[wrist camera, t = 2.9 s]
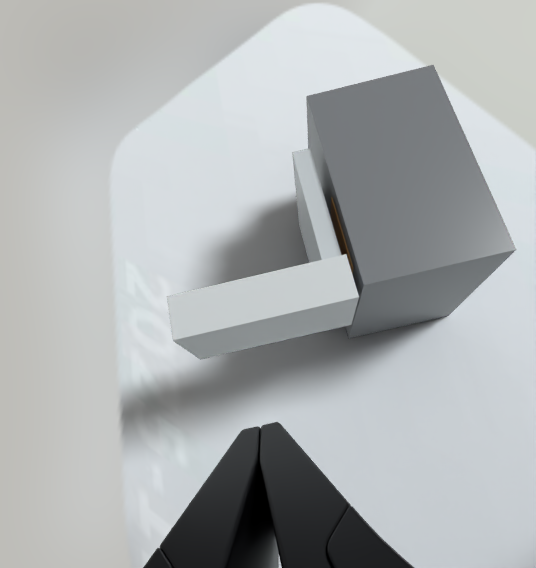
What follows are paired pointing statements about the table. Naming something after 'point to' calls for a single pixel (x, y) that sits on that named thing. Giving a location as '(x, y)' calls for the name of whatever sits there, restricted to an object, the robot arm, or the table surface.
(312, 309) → the side door
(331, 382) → the table surface
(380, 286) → the block
